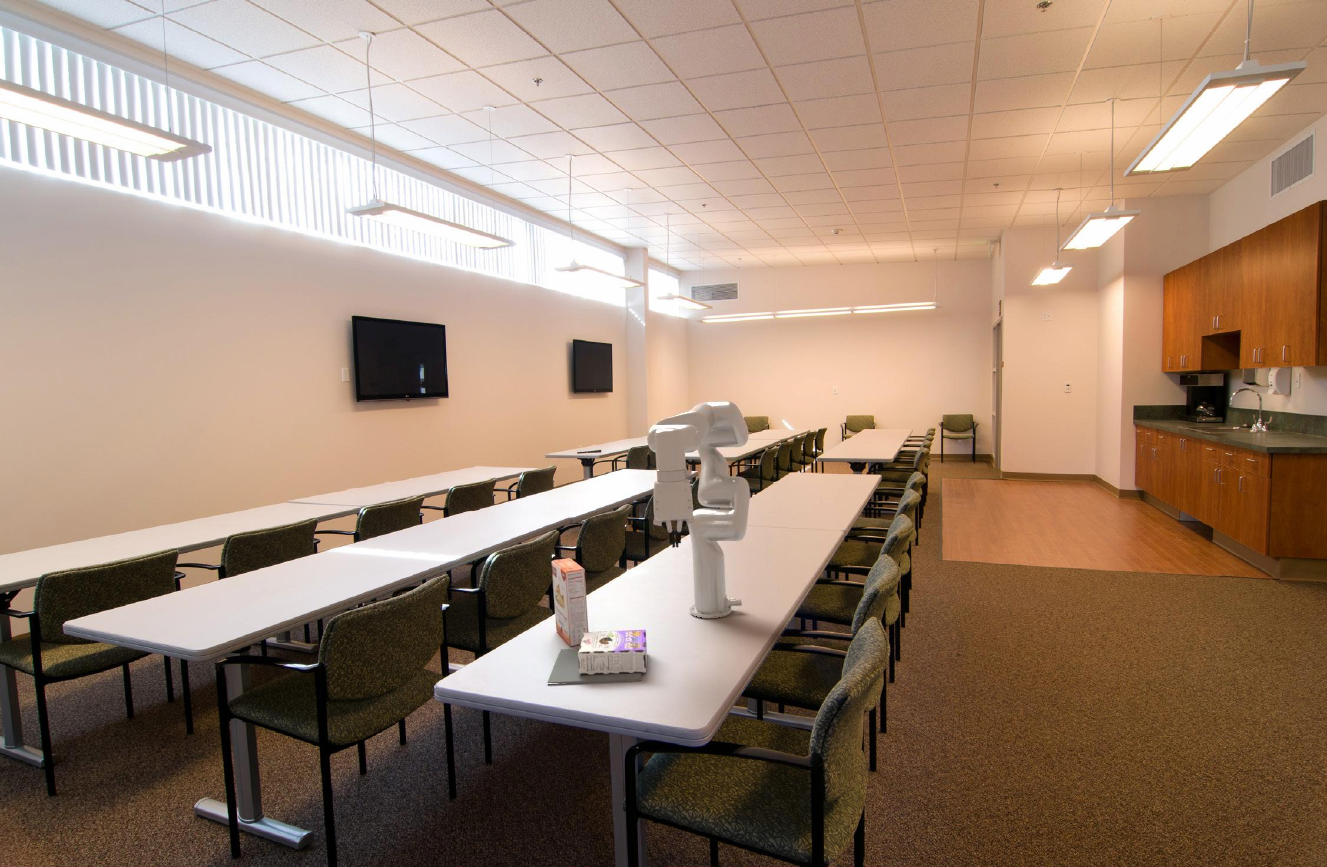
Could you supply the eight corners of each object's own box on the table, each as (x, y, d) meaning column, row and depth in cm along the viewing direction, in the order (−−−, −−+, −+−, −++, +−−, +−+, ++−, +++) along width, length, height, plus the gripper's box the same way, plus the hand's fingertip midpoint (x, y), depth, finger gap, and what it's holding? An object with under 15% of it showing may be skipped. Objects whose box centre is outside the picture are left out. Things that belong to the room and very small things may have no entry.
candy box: (647, 651, 174) (584, 653, 174) (646, 628, 174) (583, 631, 174) (646, 673, 160) (577, 676, 160) (645, 649, 160) (576, 652, 160)
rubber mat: (643, 648, 177) (643, 645, 177) (640, 681, 158) (640, 678, 157) (560, 651, 178) (560, 649, 178) (547, 685, 158) (547, 682, 158)
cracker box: (554, 631, 193) (550, 560, 191) (574, 627, 195) (571, 557, 194) (568, 648, 180) (564, 571, 179) (589, 643, 182) (585, 568, 181)
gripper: (699, 472, 175) (703, 541, 177) (643, 475, 175) (647, 544, 177) (701, 477, 168) (705, 548, 170) (642, 480, 168) (646, 551, 170)
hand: (675, 546), depth 173 cm, fingers closed
